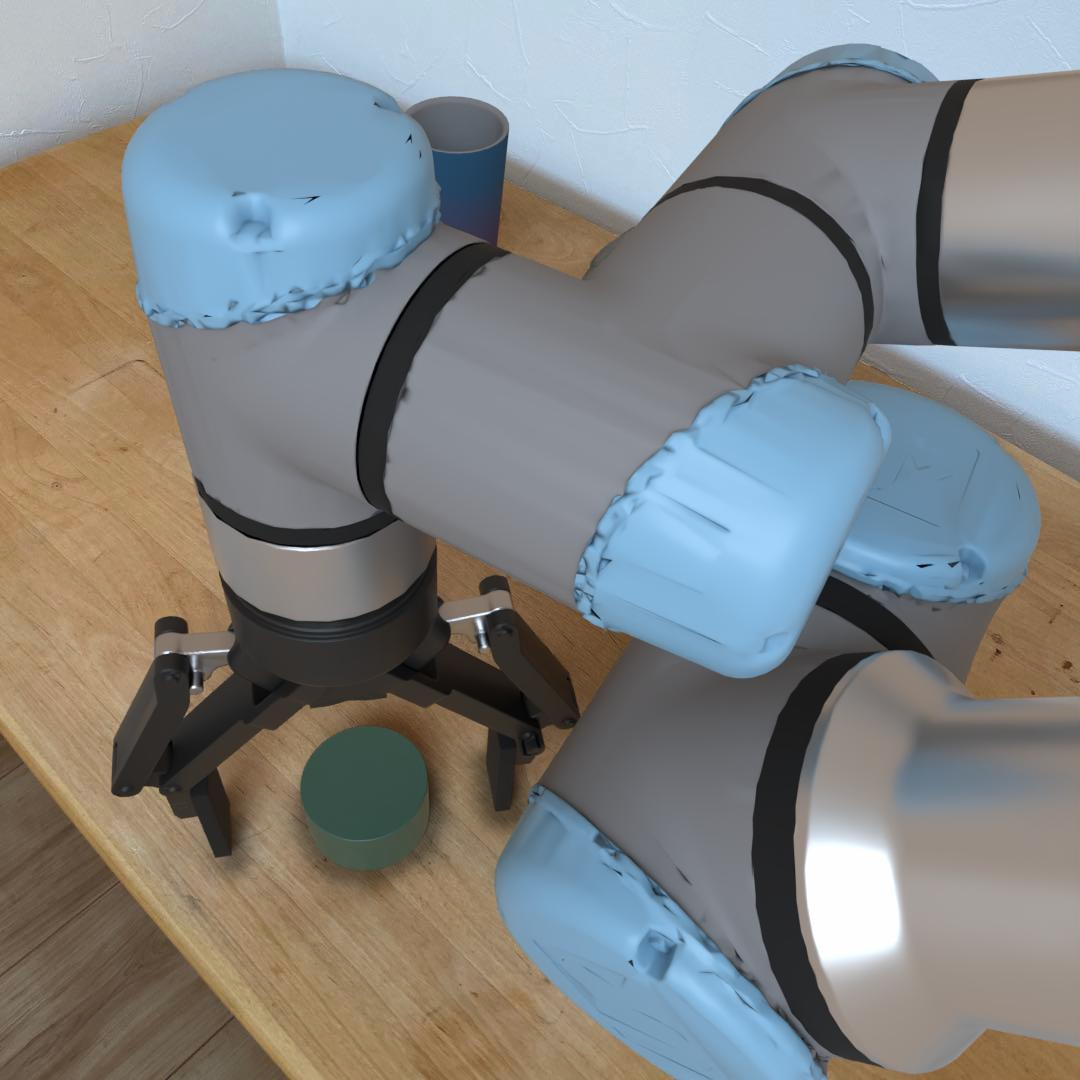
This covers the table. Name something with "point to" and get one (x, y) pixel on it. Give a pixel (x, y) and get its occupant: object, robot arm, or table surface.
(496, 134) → the cup
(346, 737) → the green cylinder
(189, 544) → the table surface
